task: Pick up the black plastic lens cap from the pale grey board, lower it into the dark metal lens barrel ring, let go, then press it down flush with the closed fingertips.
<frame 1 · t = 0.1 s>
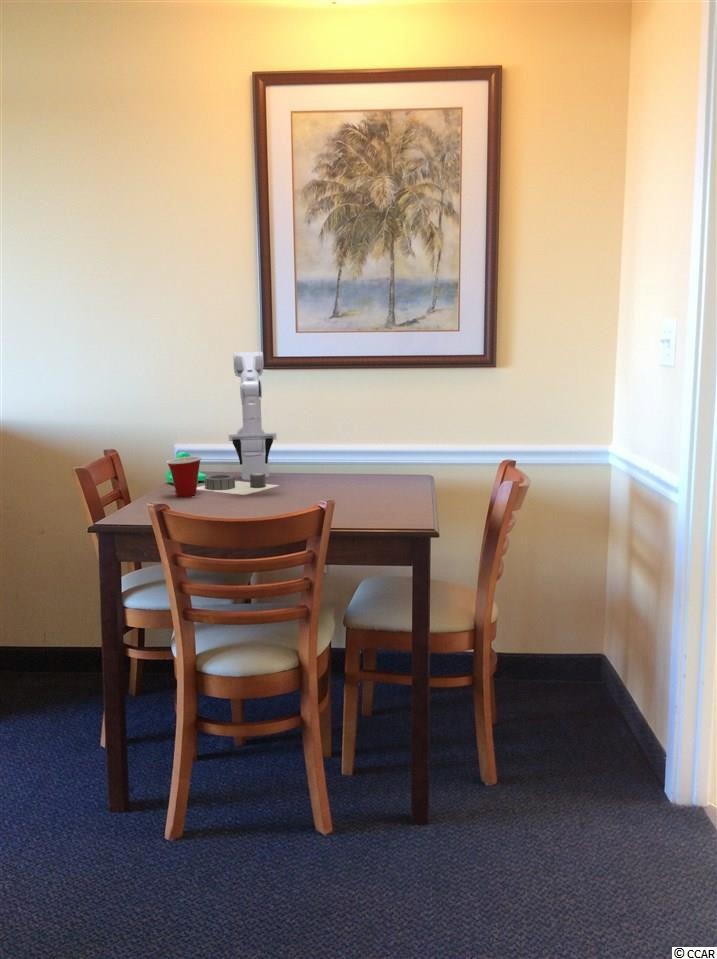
hand: (253, 464, 268), 10 cm above the table, tool pointing down, fingers open, 7 cm apart
plastic cup: (185, 496, 274), on the table
camera mount: (187, 483, 297), on the table
board: (235, 489, 283), on the table
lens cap: (258, 486, 283), point 1 cm above the table, touching board
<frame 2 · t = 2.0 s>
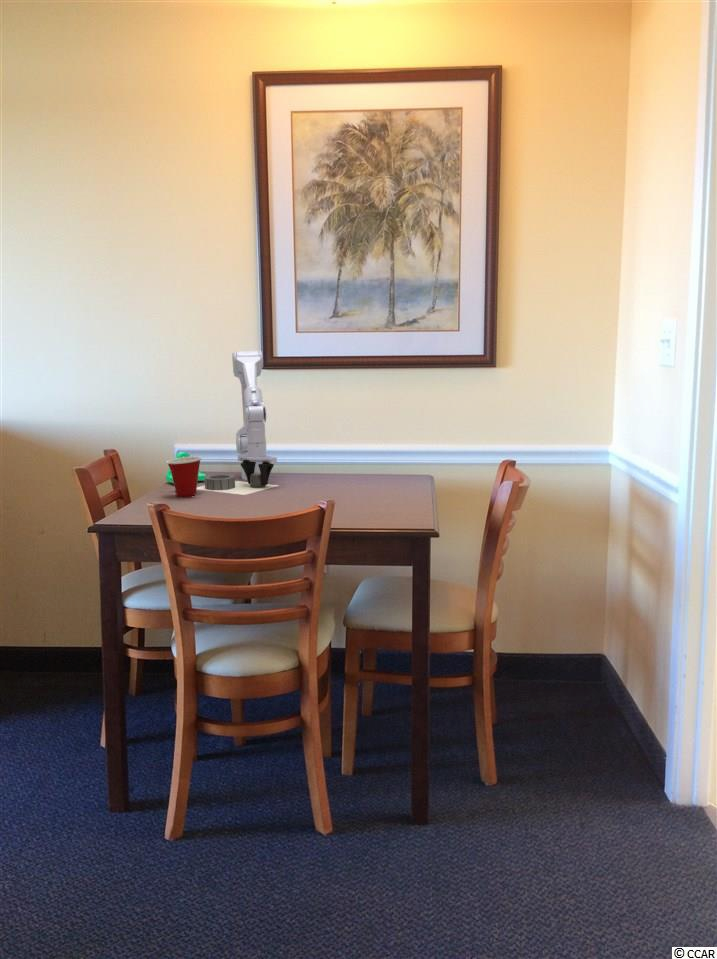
hand: (257, 484, 283), 2 cm above the table, tool pointing down, fingers closed on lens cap, 5 cm apart
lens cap: (258, 486, 283), point 1 cm above the table, touching board, gripper
everything else where it was.
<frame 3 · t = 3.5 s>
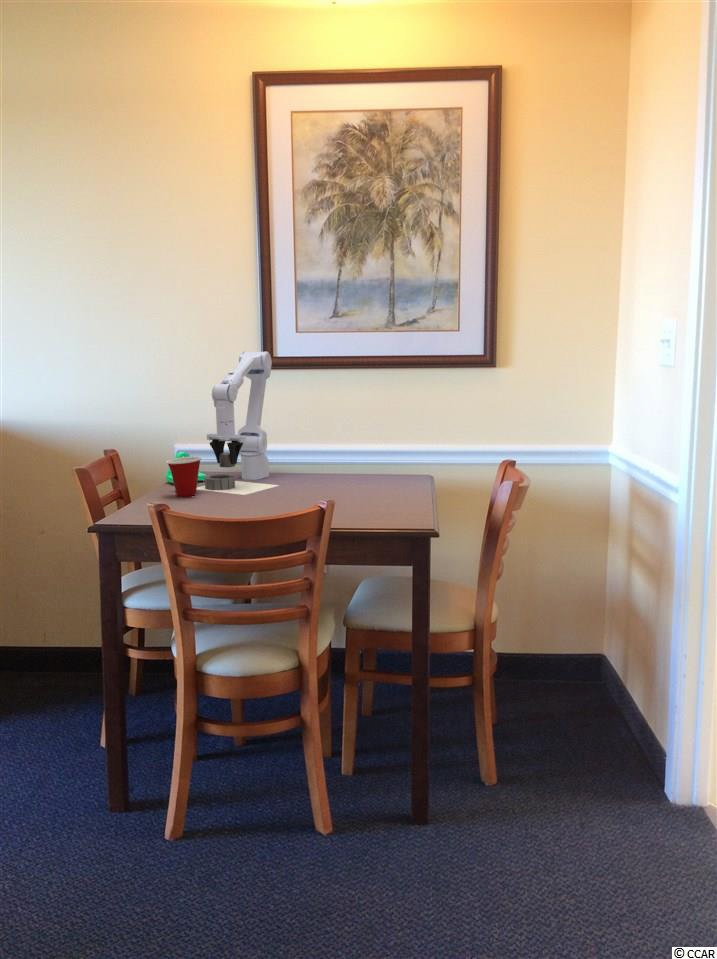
hand: (227, 463, 282), 9 cm above the table, tool pointing down, fingers closed on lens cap, 5 cm apart
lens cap: (227, 466, 282), point 8 cm above the table, touching gripper
everything else where it was.
when the fingers open (5 cm above the table, at t = 4.9 s): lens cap drops 3 cm, resting on board.
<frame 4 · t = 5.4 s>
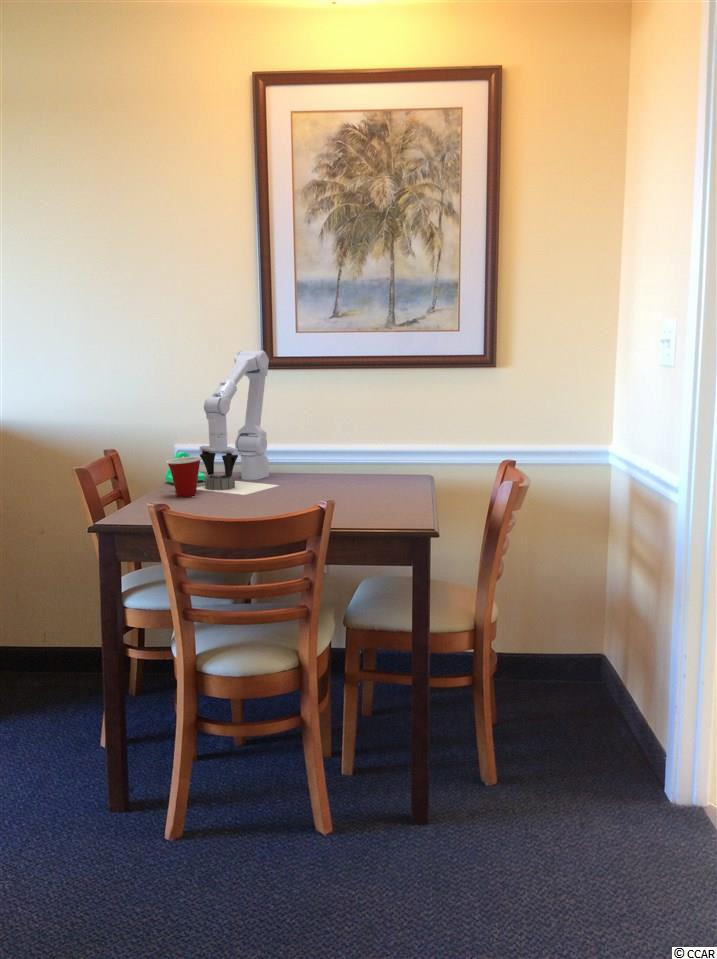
hand: (219, 475, 282), 5 cm above the table, tool pointing down, fingers open, 7 cm apart
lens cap: (220, 487, 283), point 1 cm above the table, touching board
everything else where it was.
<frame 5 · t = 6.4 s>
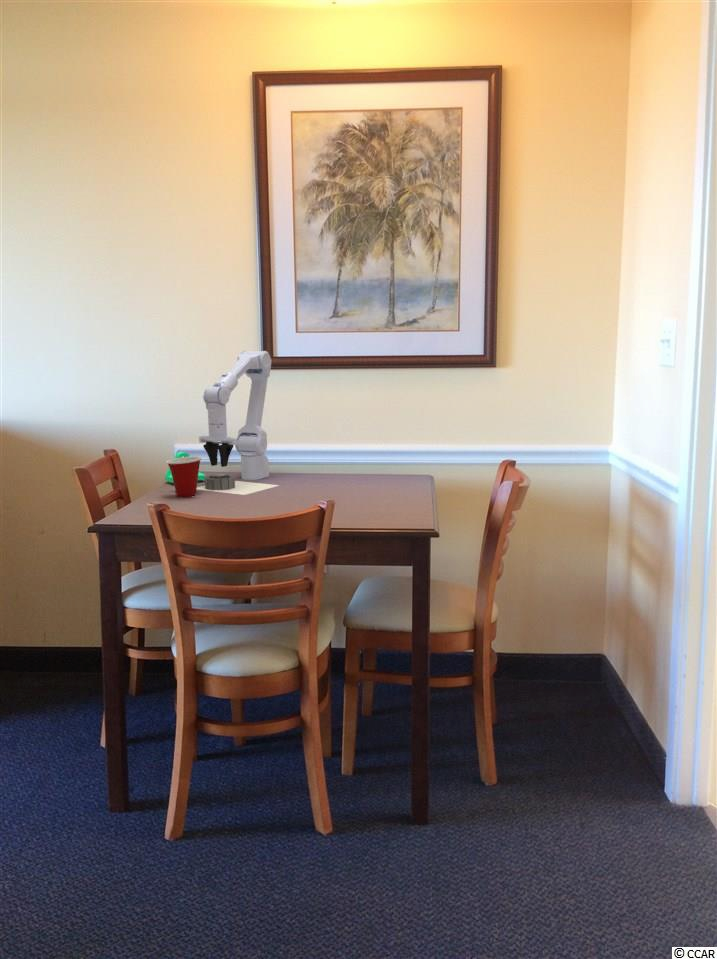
hand: (219, 465, 282), 8 cm above the table, tool pointing down, fingers open, 4 cm apart
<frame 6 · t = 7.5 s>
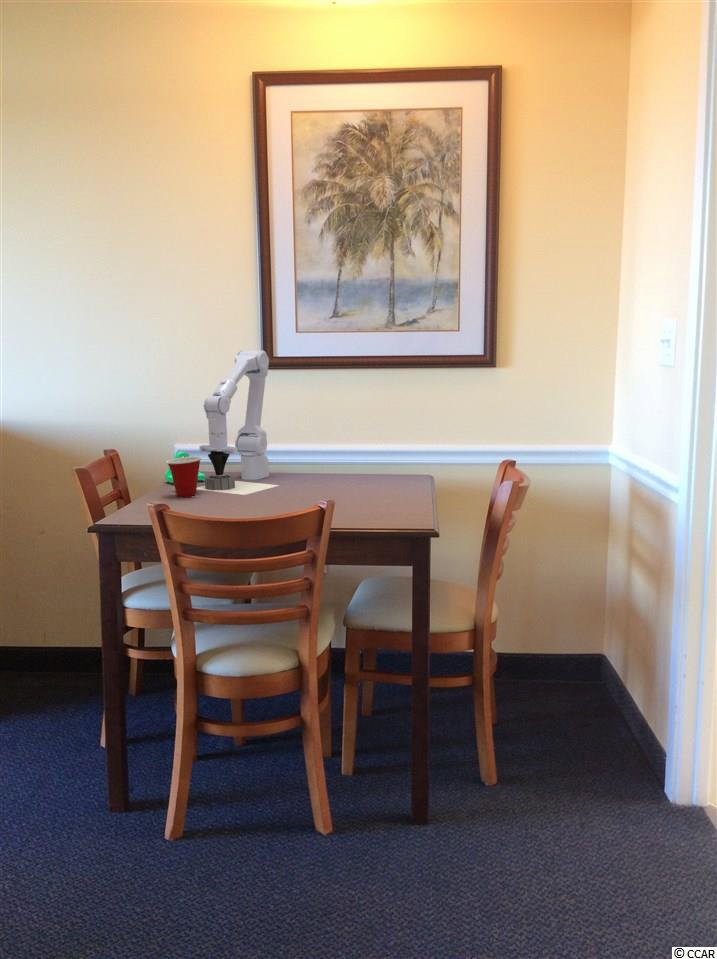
hand: (219, 474, 282), 5 cm above the table, tool pointing down, fingers closed, pressing on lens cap
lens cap: (220, 487, 283), point 1 cm above the table, touching board, gripper
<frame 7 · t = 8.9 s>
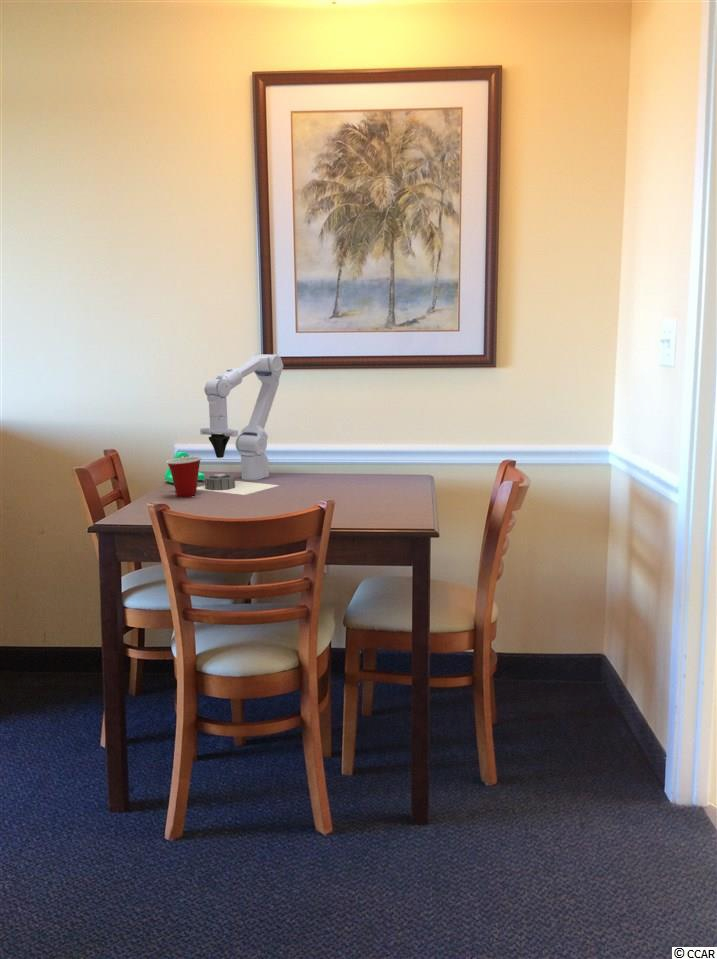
hand: (220, 457, 286), 10 cm above the table, tool pointing down, fingers closed
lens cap: (220, 487, 283), point 1 cm above the table, touching board
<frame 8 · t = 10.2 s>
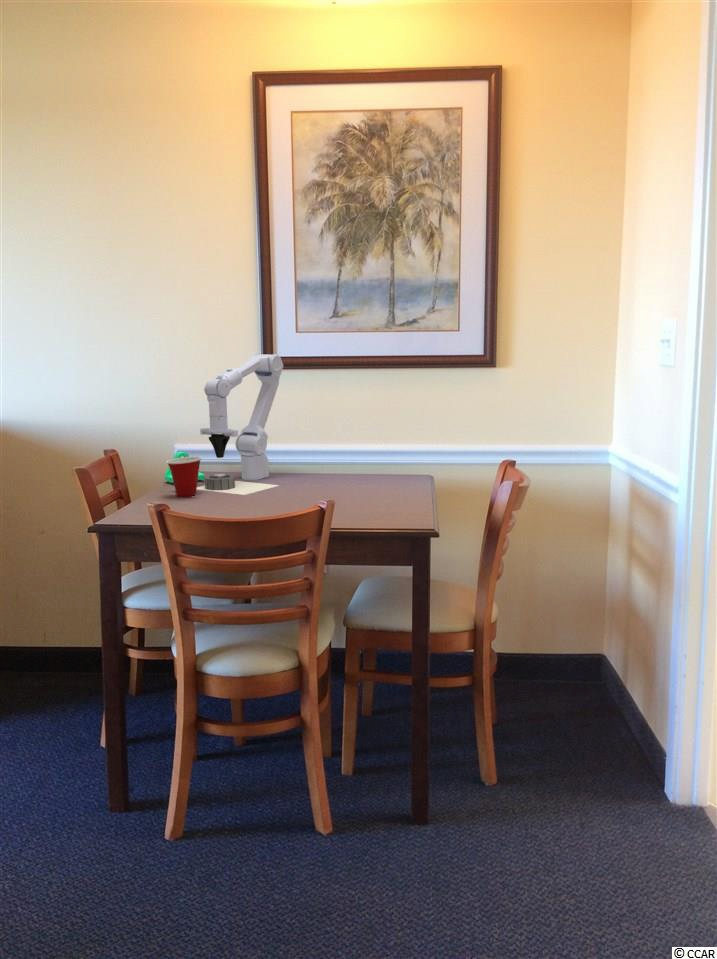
hand: (220, 457, 286), 10 cm above the table, tool pointing down, fingers closed
at the end: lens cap 0.1 cm from the target spot on the board, point 0.8 cm above the board's base; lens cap tilted 0°; the gripper is holding nothing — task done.
